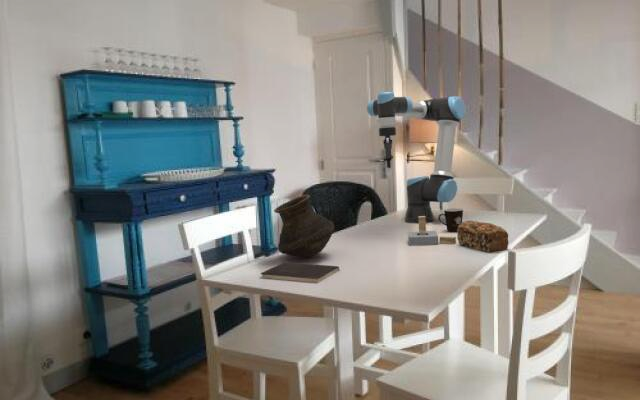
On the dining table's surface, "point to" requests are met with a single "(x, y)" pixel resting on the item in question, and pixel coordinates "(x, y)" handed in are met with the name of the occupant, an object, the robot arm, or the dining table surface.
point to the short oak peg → (447, 240)
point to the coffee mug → (452, 218)
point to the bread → (482, 236)
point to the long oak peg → (422, 225)
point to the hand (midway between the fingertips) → (389, 174)
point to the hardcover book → (300, 272)
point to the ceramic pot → (302, 229)
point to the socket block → (423, 238)
